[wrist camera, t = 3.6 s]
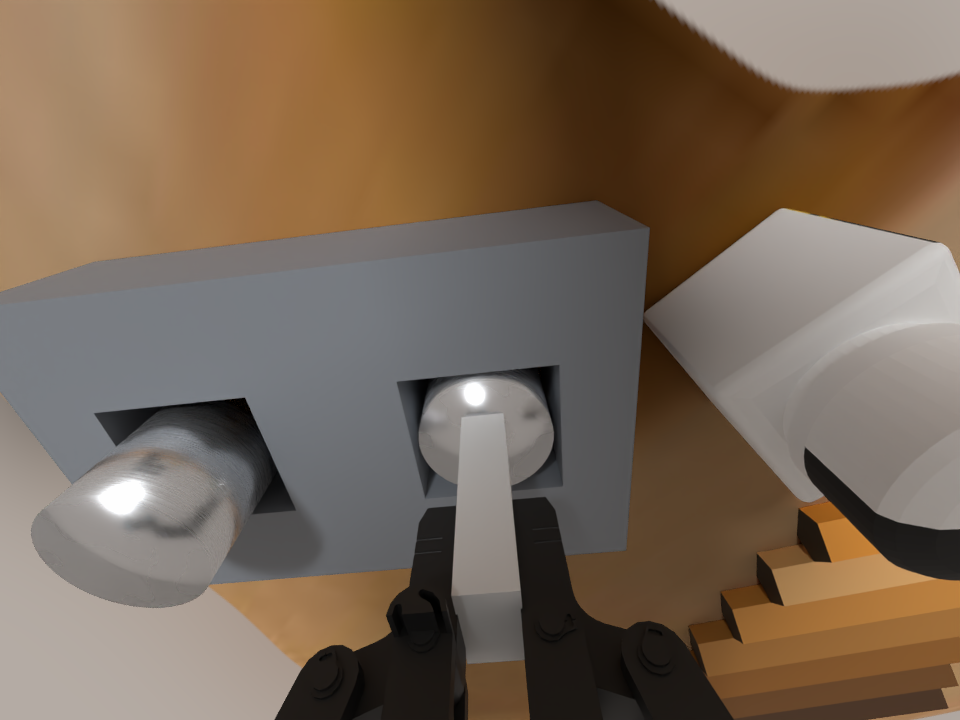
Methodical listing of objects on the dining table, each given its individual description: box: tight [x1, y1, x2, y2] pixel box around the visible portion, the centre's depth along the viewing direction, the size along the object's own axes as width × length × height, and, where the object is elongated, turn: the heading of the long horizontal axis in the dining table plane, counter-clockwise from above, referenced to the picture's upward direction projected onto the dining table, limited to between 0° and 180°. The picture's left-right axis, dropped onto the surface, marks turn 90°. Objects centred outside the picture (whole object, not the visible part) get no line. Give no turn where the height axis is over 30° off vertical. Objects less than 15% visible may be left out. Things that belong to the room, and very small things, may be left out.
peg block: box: [0, 200, 650, 585], centre depth 18 cm, size 14×22×6 cm, turn 97°
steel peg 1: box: [31, 400, 278, 608], centre depth 15 cm, size 5×5×5 cm
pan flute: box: [689, 502, 960, 720], centre depth 31 cm, size 25×3×25 cm
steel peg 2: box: [419, 367, 554, 485], centre depth 18 cm, size 5×5×5 cm
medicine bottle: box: [643, 208, 960, 581], centre depth 14 cm, size 7×7×12 cm
